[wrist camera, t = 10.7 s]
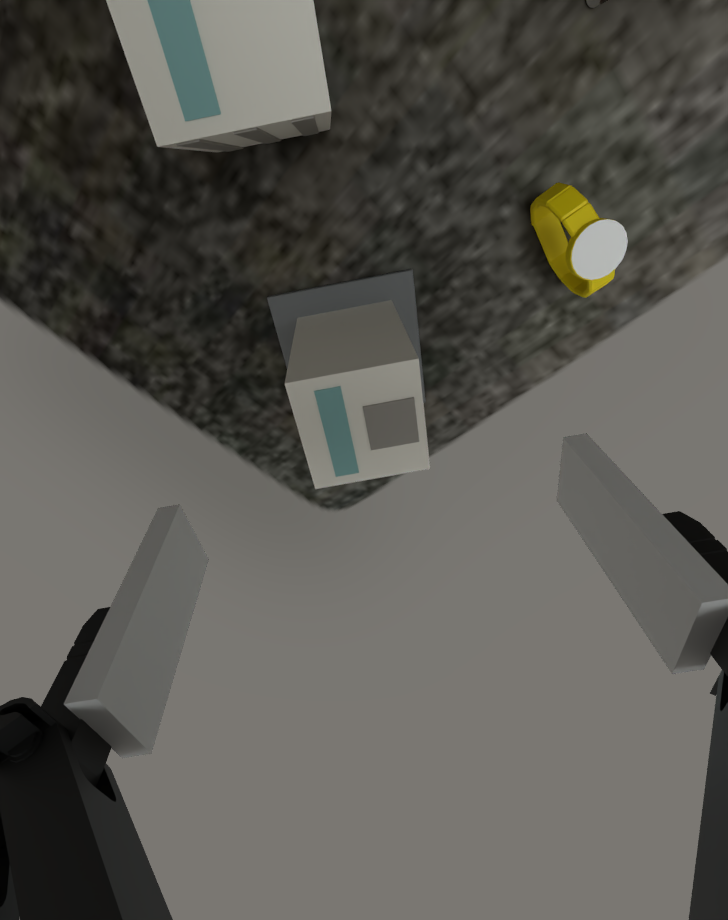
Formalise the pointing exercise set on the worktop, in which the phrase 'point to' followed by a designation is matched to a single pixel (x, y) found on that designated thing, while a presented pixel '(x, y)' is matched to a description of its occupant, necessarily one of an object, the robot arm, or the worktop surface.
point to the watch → (577, 239)
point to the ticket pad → (225, 70)
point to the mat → (347, 305)
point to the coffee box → (595, 3)
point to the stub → (357, 395)
